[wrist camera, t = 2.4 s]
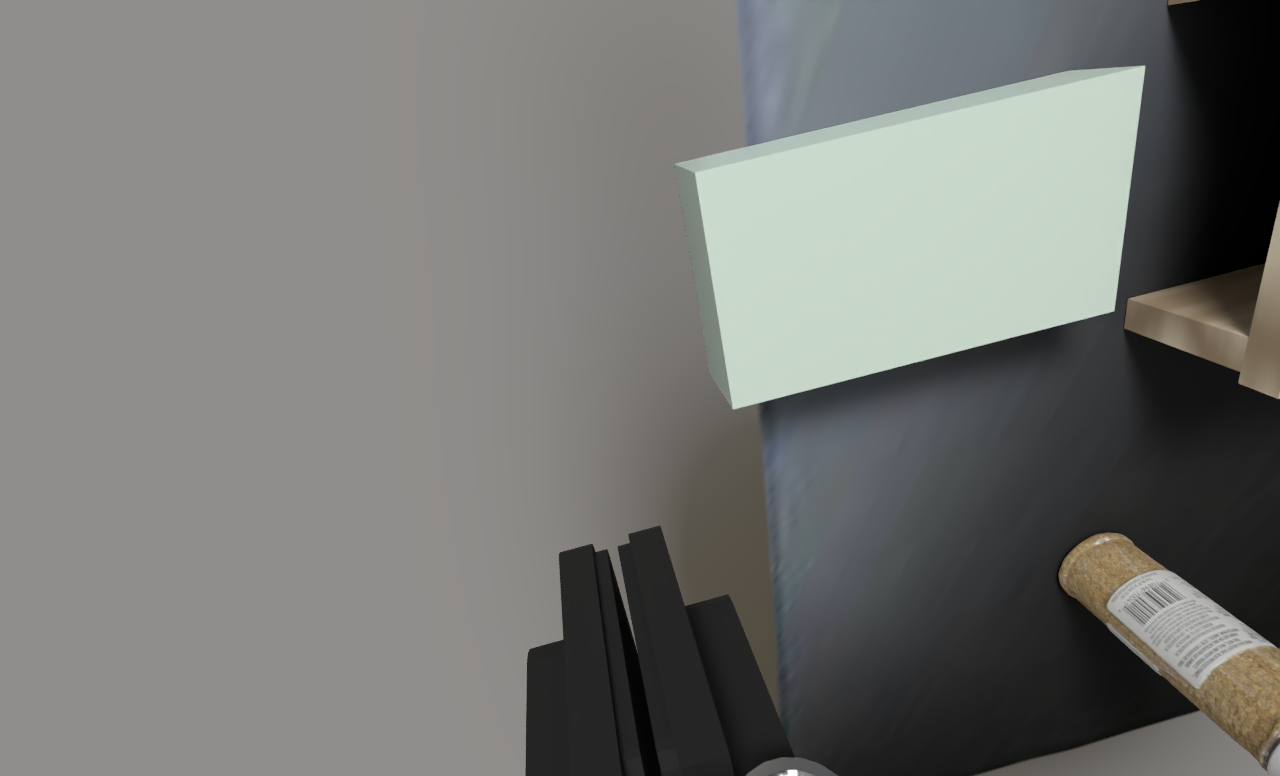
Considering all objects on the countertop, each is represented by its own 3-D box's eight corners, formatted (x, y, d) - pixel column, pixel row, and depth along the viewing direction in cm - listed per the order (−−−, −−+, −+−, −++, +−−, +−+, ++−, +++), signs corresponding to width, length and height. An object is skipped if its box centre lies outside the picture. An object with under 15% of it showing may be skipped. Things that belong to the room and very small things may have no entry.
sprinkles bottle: (1059, 603, 37) (1313, 843, 25) (1050, 549, 35) (1319, 781, 23) (1132, 571, 37) (1422, 797, 25) (1126, 515, 35) (1438, 730, 23)
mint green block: (673, 164, 24) (694, 172, 21) (1067, 70, 25) (1145, 65, 22) (710, 375, 28) (733, 409, 25) (1050, 288, 29) (1114, 311, 25)
